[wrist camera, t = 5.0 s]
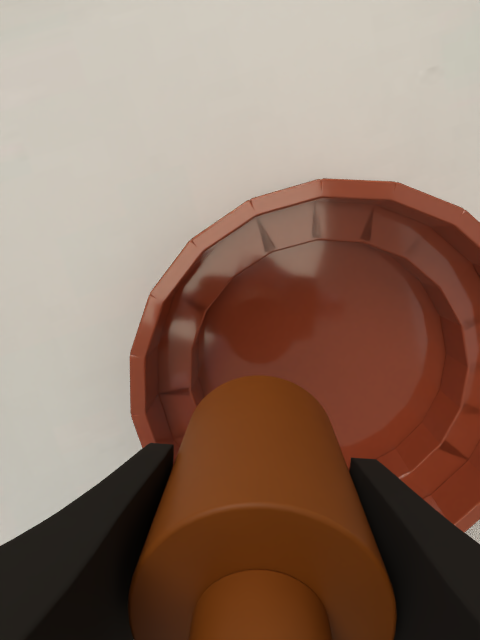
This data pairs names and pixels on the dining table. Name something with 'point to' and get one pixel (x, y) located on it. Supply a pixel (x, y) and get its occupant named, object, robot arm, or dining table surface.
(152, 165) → the dining table surface
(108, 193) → the dining table surface
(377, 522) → the robot arm
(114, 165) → the dining table surface
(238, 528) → the bottle
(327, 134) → the dining table surface
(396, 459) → the bowl
